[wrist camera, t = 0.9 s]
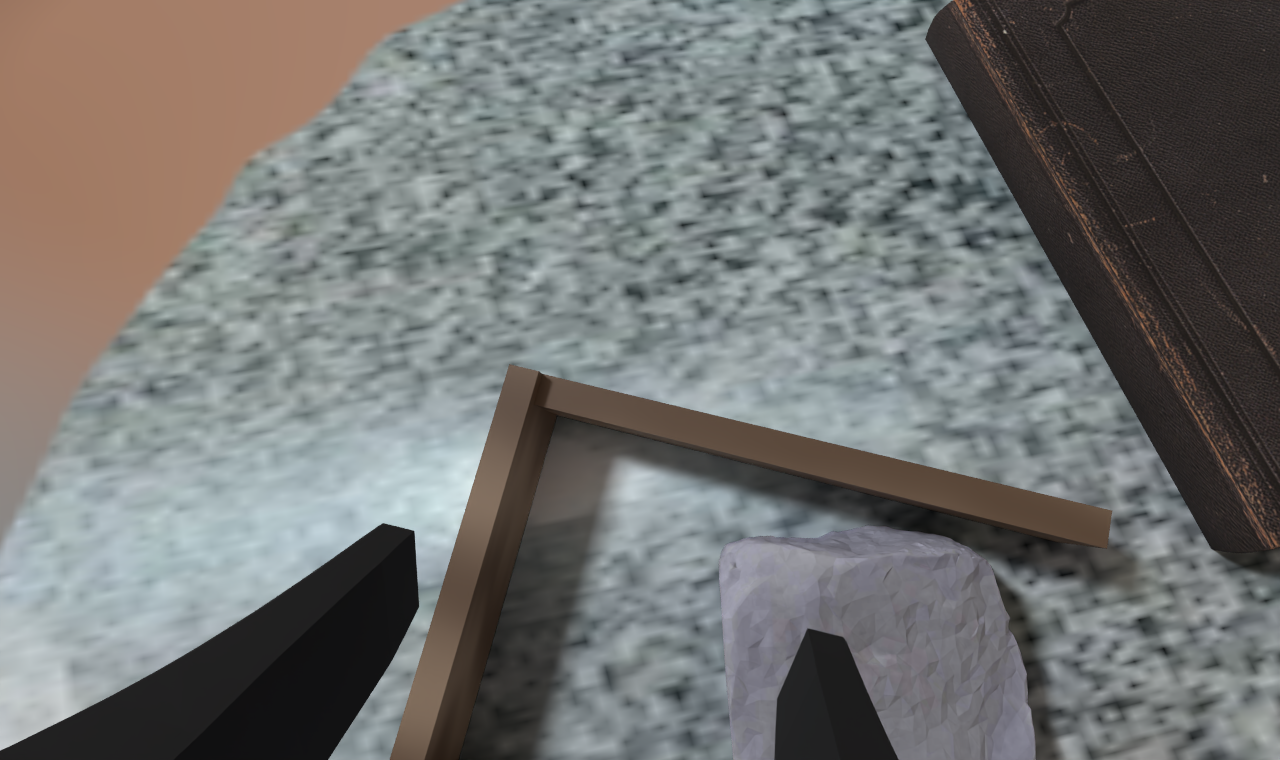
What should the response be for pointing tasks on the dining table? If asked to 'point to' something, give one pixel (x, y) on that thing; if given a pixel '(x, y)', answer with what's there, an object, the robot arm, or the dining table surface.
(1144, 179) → the hardcover book
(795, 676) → the robot arm
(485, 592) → the shelf lane
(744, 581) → the stone block
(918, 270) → the dining table surface
